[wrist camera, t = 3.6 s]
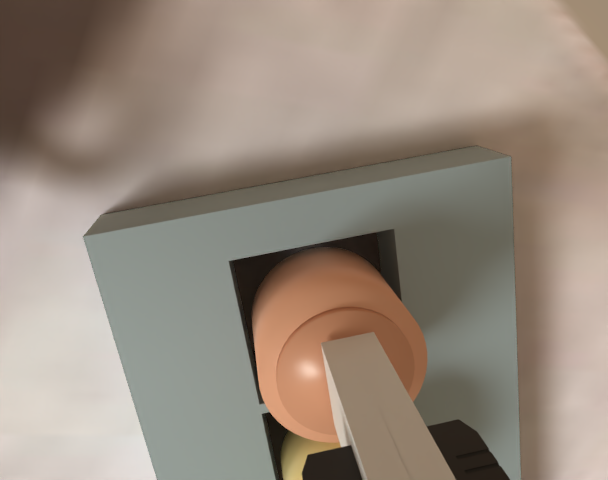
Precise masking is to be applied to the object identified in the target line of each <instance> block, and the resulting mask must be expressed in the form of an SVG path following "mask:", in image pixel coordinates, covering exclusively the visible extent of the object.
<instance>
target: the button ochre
mask: <svg viewBox="0 0 608 480" xmlns="http://www.w3.org/2000/svg"><path fill="white" fill-rule="evenodd" d="M340 447H341V446H340V442H339V443H328V442H319V441H313V440H310V439H307V438H303V437H301V436H299V435H297V434H294V433H293V432H291V431H290V430H288V432H287V434H286V436H285V438H284V441H283V444H282V448H281V467H282V474H283V480H303V478H302V471H303V468H304V465H305V461H306V458H307V455H309V454H313V453H318V452H322V451H327V450H331V449H335V448H340Z"/></svg>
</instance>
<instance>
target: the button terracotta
mask: <svg viewBox="0 0 608 480" xmlns="http://www.w3.org/2000/svg"><path fill="white" fill-rule="evenodd" d="M252 328H253V337H254V346H255V355H256V364H257V373H258V381H259V388H260V392H261V395H262V398H263V401H264V403H265V405H266V407H267V408H268V410H269V411H270V413H271V414H272V416H273V417H274V418H275V419H276V420H277V421H278V422H279V423H280V424H281V425H283V426H284V427H285V428H286V429H288V430H290V431H291V432H293V433H294V434H297V435H299V436H301V437H303V438H307V439H310V440H313V441H319V442H328V443H339V439H338V436H337V432H336V429H335V426H334V420H333V414H332V408H331V402H330V396H329V390H328V384H327V378H326V372H325V365H324V359H323V353H322V347H321V343H322V342H327V341H332V340H337V339H341V338H346V337H351V336H356V335H361V334H365V333H370V332H374V333H375V335H376V337H377V338H378V340H379V342H380V344H381V346H382V347H383V349H384V351H385V353H386V355H387V356H388V358H389V360H390V362H391V364H392V365H393V367H394V369H395V371H396V373H397V374H398V376H399V378H400V380H401V382H402V383H403V385H404V387H405V389H406V391H407V392H408V394H409V396H410V398H411V400H412V401H414V400H415V398H416V397H417V395H418V393H419V391H420V389H421V387H422V384H423V382H424V378H425V375H426V370H427V362H428V360H427V347H426V342H425V339H424V336H423V333H422V331H421V329H420V327H419V325H418V323H417V322H416V321H415V319H414V318H413V316H412V315H411V314H410V312H409V311H408V310H407V308H406V307H405V306H404V305H403V303H402V302H401V301H400V299H399V298H398V297H397V295H396V294H395V293H394V291H393V290H392V289H391V287H390V286H389V285H388V283H387V282H386V281H385V280H384V278H383V277H382V276H381V274H380V273H379V272H378V270H377V269H376V268H375V267H374V266H373V265H372V264H371V263H370V262H369V261H367V260H366V259H365V258H363V257H362V256H360V255H358V254H356V253H354V252H351V251H349V250H345V249H341V248H335V247H317V248H310V249H307V250H303V251H300V252H298V253H295V254H293V255H291V256H289V257H287V258H285V259H284V260H282V261H281V262H280V263H278V264H277V265H276V266H275V267H274V268H273V269H272V270H271V271H270V272H269V273H268V274H267V275H266V276H265V278H264V279H263V281H262V282H261V284H260V285H259V287H258V290H257V292H256V294H255V297H254V301H253V305H252Z"/></svg>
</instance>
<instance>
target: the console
mask: <svg viewBox="0 0 608 480" xmlns="http://www.w3.org/2000/svg"><path fill="white" fill-rule="evenodd" d="M374 232H376V233H377V242H378V250H379V259H380V267H381V276H382V277H383V278H384V280H385V281H386V282H387V283H388V285H389V286H390V287H391V289H392V290H393V291H394V293H395V294H396V295H397V297H398V298H399V299H400V301H401V302H402V303H403V305H404V306H405V307H406V308H407V310H408V311H409V312H410V314H411V315H412V316H413V318H414V319H415V321H416V322H417V323H418V325H419V327H420V329H421V331H422V333H423V336H424V339H425V342H426V347H427V360H428V362H427V370H426V375H425V378H424V382H423V384H422V387H421V389H420V391H419V393H418V395H417V397H416V398H415V400H414V401H413V403H414V405H415V407H416V409H417V410H418V412H419V414H420V416H421V418H422V419H423V421H424V423H425V425H426V426H431V425H435V424H440V423H444V422H448V421H453V420H457V419H459V420H461V421H462V422H464V423H465V424H467V425H468V426H470V427H471V428H472V429H474V430H475V431H477V432H478V433H479V435H480V436H481V438H482V439H483V441H484V442H485V444H486V445H487V447H488V448H489V451H490V452H492V454H493V455H494V457H495V458H496V460H497V461H498V463H499V466H501V467H502V468H503V470H504V471H505V473H506V474H507V476H508V477H509V479H510V480H521V463H520V430H519V397H518V364H517V331H516V298H515V264H514V231H513V198H512V165H511V156H508V155H505V154H502V153H499V152H495V151H492V150H489V149H486V148H482V147H479V146H472V147H466V148H461V149H456V150H450V151H445V152H439V153H434V154H429V155H423V156H418V157H412V158H407V159H401V160H396V161H391V162H385V163H380V164H374V165H369V166H363V167H358V168H353V169H347V170H342V171H336V172H331V173H325V174H320V175H315V176H309V177H304V178H298V179H293V180H288V181H282V182H277V183H271V184H266V185H260V186H255V187H250V188H244V189H239V190H233V191H228V192H222V193H217V194H212V195H206V196H201V197H195V198H190V199H184V200H179V201H174V202H168V203H163V204H157V205H152V206H147V207H141V208H136V209H130V210H125V211H119V212H114V213H109V214H103V215H100V217H99V218H98V219H97V220H96V222H95V223H94V224H93V225H92V226H91V228H90V229H89V230H88V231H87V232H86V234H85V235H84V236H83V238H84V241H85V245H86V248H87V251H88V255H89V258H90V261H91V264H92V268H93V271H94V274H95V278H96V281H97V284H98V287H99V291H100V294H101V297H102V301H103V304H104V307H105V310H106V314H107V317H108V320H109V323H110V327H111V330H112V333H113V337H114V340H115V343H116V346H117V350H118V353H119V356H120V360H121V363H122V366H123V369H124V373H125V376H126V379H127V383H128V386H129V389H130V392H131V396H132V399H133V402H134V405H135V409H136V412H137V415H138V419H139V422H140V425H141V428H142V432H143V435H144V438H145V442H146V445H147V448H148V451H149V455H150V458H151V461H152V465H153V468H154V471H155V474H156V478H157V480H279V476H278V471H277V466H276V462H275V457H274V452H273V447H272V443H271V438H270V433H269V429H268V424H267V419H266V415H265V413H268V412H270V411H269V410H268V408H267V407H266V405H265V403H264V401H263V398H262V395H261V392H260V388H259V381H258V373H257V367H255V363H254V358H253V353H252V349H251V344H250V339H249V335H248V330H247V325H246V320H245V316H244V311H243V306H242V302H241V297H240V292H239V287H238V283H237V278H236V273H235V269H234V264H233V260H236V259H242V258H247V257H252V256H257V255H262V254H267V253H272V252H277V251H282V250H288V249H293V248H298V247H303V246H308V245H313V244H318V243H323V242H328V241H334V240H339V239H344V238H349V237H354V236H359V235H364V234H369V233H374Z"/></svg>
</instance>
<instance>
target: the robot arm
mask: <svg viewBox="0 0 608 480" xmlns="http://www.w3.org/2000/svg"><path fill="white" fill-rule="evenodd" d="M321 347H322V353H323V359H324V365H325V372H326V378H327V384H328V390H329V396H330V402H331V408H332V414H333V420H334V426H335V429H336V432H337V436H338V439H339V442H340V446H341V447H340V448H335V449H331V450H327V451H322V452H318V453H313V454H309V455H307V458H306V461H305V465H304V468H303V471H302V478H303V480H510V479H509V477H508V476H507V474H506V473H505V471H504V470H503V468H502V467H501V466H499V463H498V461H497V460H496V458H495V457H494V455H493V454H492V452H490V451H489V448H488V447H487V445H486V444H485V442H484V441H483V439H482V438H481V436H480V435H479V433H478V432H477V431H475V430H474V429H472V428H471V427H470V426H468V425H467V424H465V423H464V422H462V421H461V420H459V419H457V420H453V421H448V422H444V423H440V424H435V425H431V426H426V425H425V423H424V421H423V419H422V418H421V416H420V414H419V412H418V410H417V409H416V407H415V405H414V403H413V401H412V400H411V398H410V396H409V394H408V392H407V391H406V389H405V387H404V385H403V383H402V382H401V380H400V378H399V376H398V374H397V373H396V371H395V369H394V367H393V365H392V364H391V362H390V360H389V358H388V356H387V355H386V353H385V351H384V349H383V347H382V346H381V344H380V342H379V340H378V338H377V337H376V335H375V333H374V332H370V333H365V334H361V335H356V336H351V337H346V338H341V339H337V340H332V341H327V342H322V343H321Z"/></svg>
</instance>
